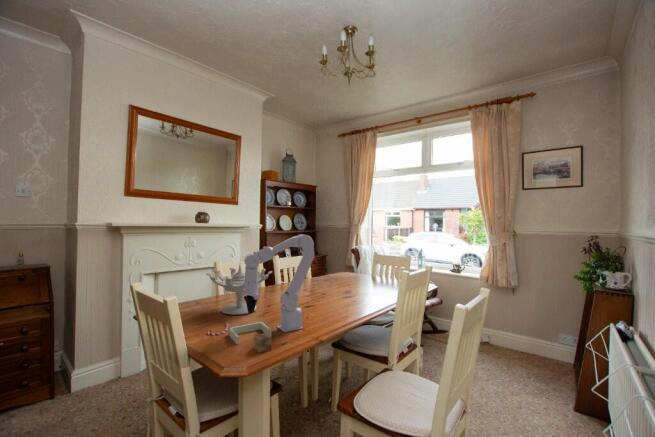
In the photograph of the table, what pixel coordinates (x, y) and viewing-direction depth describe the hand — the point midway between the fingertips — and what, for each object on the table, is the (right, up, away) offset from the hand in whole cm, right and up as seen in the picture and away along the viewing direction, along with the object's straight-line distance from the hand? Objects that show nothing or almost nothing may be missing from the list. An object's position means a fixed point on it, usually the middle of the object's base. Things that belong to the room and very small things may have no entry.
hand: (250, 312), depth 130 cm
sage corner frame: (+1, -9, -4) cm, 10 cm away
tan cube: (+9, -9, -16) cm, 20 cm away
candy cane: (-15, -10, +3) cm, 18 cm away
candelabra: (-14, -9, +31) cm, 35 cm away
